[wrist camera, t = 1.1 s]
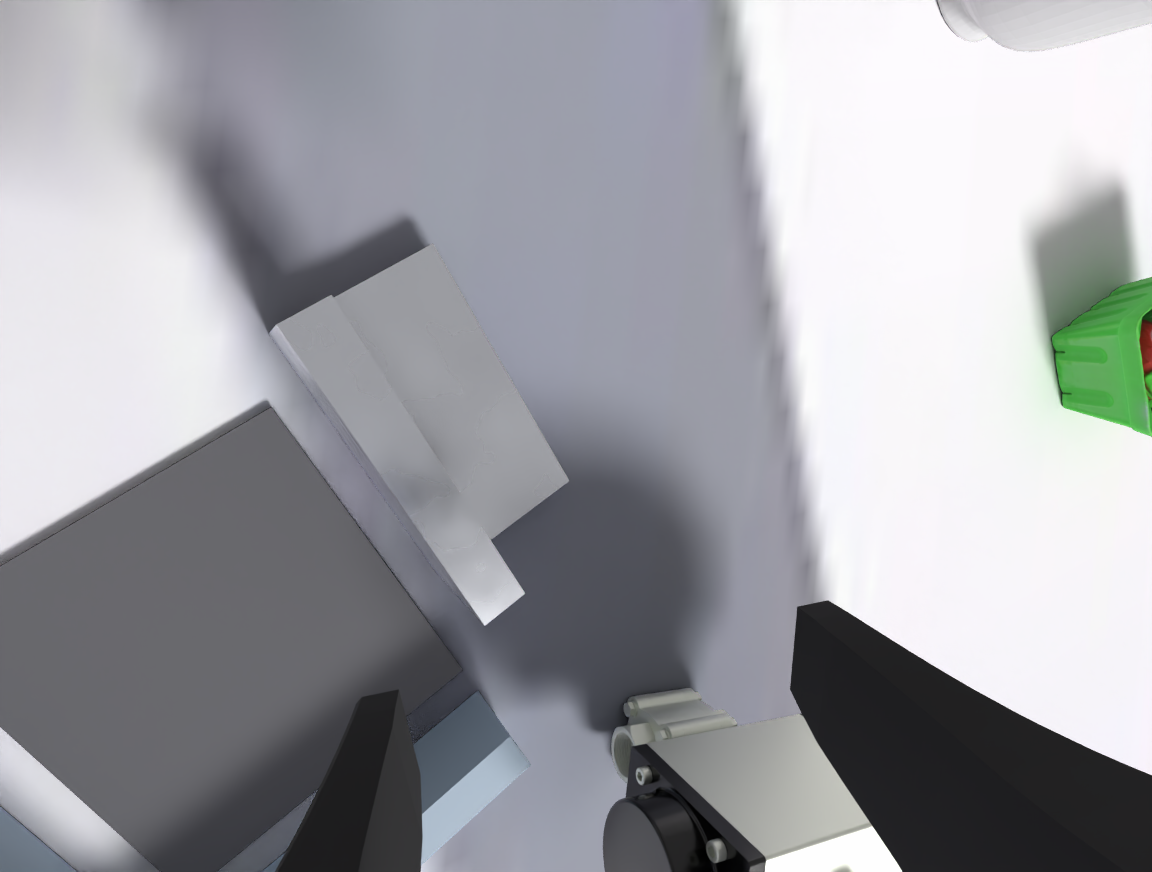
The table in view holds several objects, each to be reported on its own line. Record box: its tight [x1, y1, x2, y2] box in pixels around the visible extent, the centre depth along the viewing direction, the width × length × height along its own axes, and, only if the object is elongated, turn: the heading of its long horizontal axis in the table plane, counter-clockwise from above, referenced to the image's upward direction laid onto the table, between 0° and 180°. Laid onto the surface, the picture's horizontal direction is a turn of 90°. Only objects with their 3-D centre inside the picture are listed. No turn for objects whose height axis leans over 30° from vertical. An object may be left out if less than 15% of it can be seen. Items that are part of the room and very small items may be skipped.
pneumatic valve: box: [603, 688, 902, 872], centre depth 24 cm, size 6×12×12 cm, turn 82°
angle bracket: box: [269, 244, 569, 626], centre depth 21 cm, size 10×6×6 cm, turn 29°
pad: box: [0, 407, 463, 872], centre depth 21 cm, size 11×12×1 cm
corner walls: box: [0, 691, 531, 872], centre depth 20 cm, size 14×15×4 cm
